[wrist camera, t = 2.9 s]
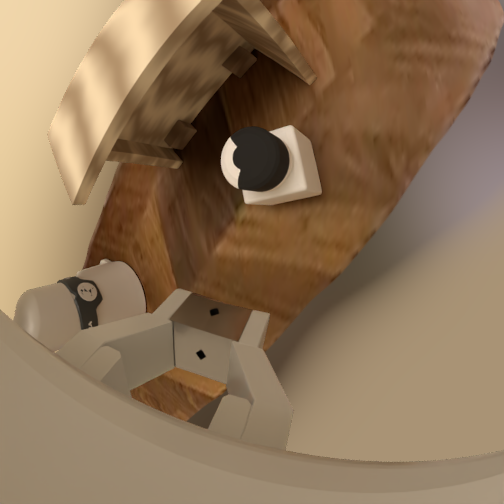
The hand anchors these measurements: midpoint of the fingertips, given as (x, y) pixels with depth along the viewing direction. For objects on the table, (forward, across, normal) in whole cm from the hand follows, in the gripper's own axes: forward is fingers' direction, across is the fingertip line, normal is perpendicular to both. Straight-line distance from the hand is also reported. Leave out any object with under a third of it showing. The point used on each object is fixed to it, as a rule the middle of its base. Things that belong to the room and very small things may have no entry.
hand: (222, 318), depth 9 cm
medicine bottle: (+29, +1, -1) cm, 29 cm away
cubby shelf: (+33, +12, -8) cm, 36 cm away
